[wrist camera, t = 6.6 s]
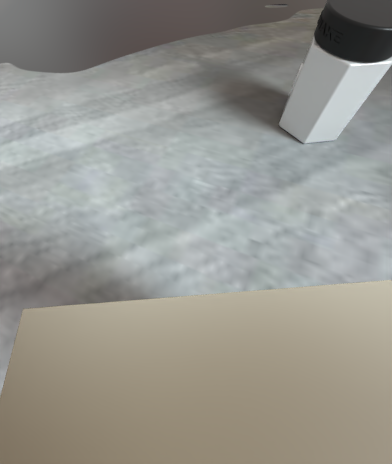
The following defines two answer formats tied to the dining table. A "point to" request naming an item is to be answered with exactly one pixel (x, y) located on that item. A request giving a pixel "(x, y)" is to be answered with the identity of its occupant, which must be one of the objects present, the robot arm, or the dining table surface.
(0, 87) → the dining table surface
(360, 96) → the jar
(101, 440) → the birch block
